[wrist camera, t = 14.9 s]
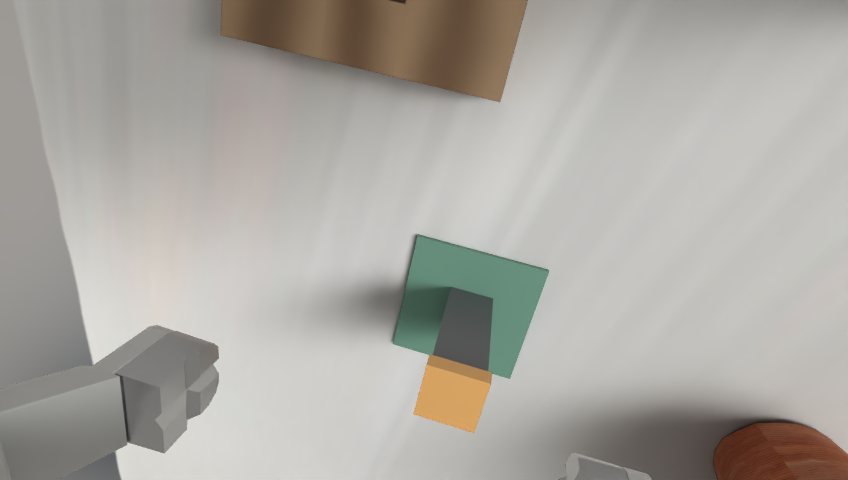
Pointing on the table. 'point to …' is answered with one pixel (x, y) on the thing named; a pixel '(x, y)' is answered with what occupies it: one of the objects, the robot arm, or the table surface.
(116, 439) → the robot arm
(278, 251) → the table surface
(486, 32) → the socket block
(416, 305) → the mat
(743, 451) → the potted plant
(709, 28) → the table surface
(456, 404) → the plug
